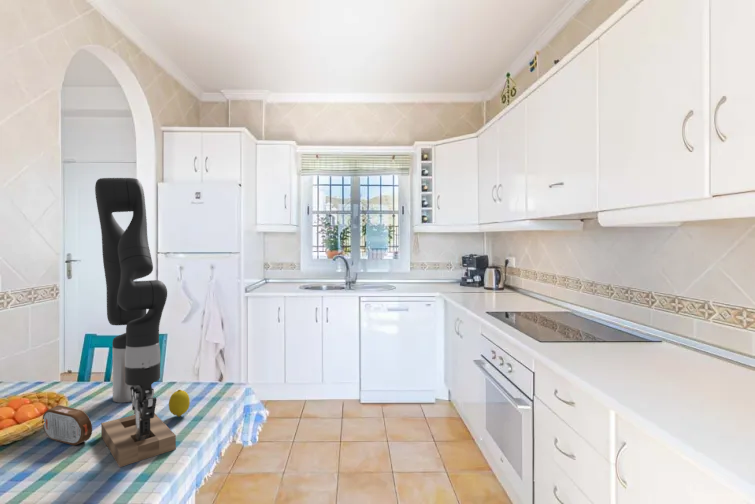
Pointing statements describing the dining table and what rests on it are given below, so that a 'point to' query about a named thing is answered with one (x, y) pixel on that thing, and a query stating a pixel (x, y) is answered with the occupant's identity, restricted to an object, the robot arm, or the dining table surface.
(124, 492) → the dining table surface
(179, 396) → the lemon
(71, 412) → the tin
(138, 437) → the peg
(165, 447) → the hole block
